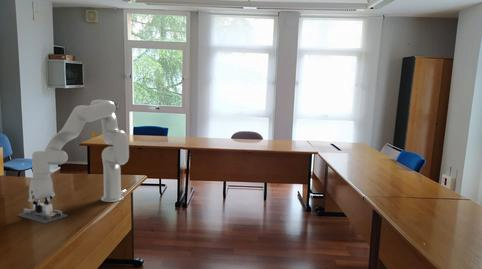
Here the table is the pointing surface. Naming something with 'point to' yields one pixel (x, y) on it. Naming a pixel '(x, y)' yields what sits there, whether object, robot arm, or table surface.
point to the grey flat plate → (39, 217)
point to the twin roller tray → (44, 216)
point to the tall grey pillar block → (44, 209)
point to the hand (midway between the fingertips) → (42, 210)
